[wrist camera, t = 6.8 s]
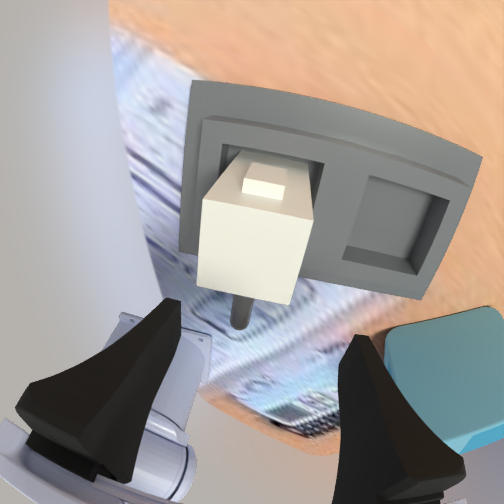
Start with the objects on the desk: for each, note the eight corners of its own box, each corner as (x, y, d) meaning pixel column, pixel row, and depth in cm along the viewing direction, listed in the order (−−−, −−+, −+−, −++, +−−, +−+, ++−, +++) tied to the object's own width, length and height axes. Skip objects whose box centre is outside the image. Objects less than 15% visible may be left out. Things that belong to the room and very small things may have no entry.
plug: (226, 255, 22) (194, 338, 15) (242, 140, 17) (204, 183, 10) (282, 266, 21) (272, 356, 15) (309, 154, 17) (317, 205, 10)
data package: (381, 359, 27) (396, 471, 17) (382, 327, 25) (404, 452, 14) (484, 334, 24) (522, 429, 13) (494, 302, 21) (544, 402, 11)
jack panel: (183, 244, 23) (169, 266, 20) (197, 80, 16) (180, 80, 14) (417, 292, 22) (427, 317, 20) (475, 153, 16) (498, 166, 13)
